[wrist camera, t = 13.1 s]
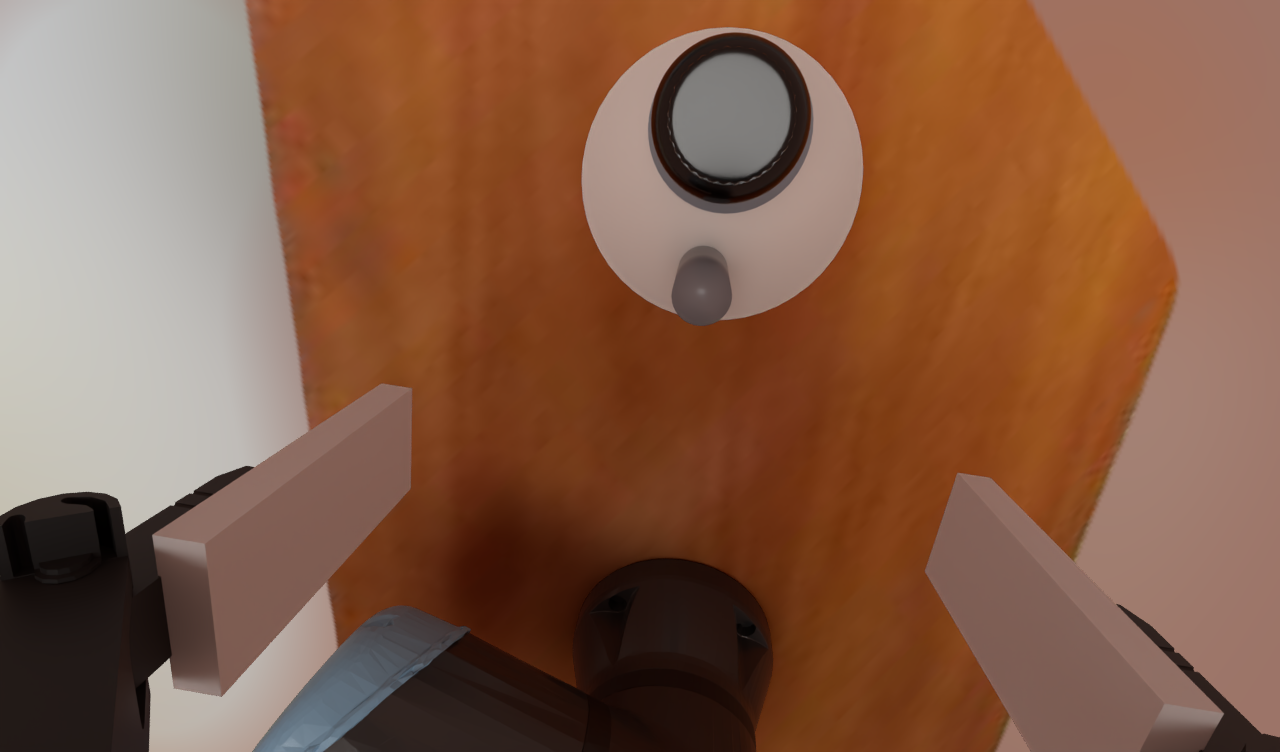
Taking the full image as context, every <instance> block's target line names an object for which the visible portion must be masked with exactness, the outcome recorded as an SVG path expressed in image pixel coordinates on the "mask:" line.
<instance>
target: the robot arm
mask: <svg viewBox="0 0 1280 752" xmlns="http://www.w3.org/2000/svg"><path fill="white" fill-rule="evenodd" d="M411 431H412V388H407V387H400V386H394V385H387V384H380V385H378V386H377V387H375V388H374V389H372V390H371V391H369V392H368V393H366V394H365V395H363V396H362V397H360V398H359V399H357V400H356V401H354V402H353V403H351V404H350V405H348V406H347V407H345V408H344V409H342V410H341V411H339V412H338V413H336V414H335V415H333V416H332V417H330V418H329V419H327V420H325V421H324V422H322V423H321V424H319V425H318V426H316V427H315V428H313V429H312V430H310V431H309V432H307V433H306V434H304V435H303V436H301V437H300V438H298V439H297V440H296V441H294V442H292V443H291V444H289V445H288V446H286V447H285V448H283V449H282V450H280V451H279V452H277V453H276V454H274V455H273V456H271V457H269V458H268V459H267V460H265V461H263V462H262V463H260V464H259V465H257V466H256V467H250V466H245V467H242V468H239V469H236V470H233V471H231V472H228V473H225V474H222V475H220V476H217V477H215V478H214V479H212V480H210V481H209V482H207V483H206V484H204V485H202V486H201V487H199V488H198V489H196V490H195V491H194V493H193V494H188V495H186V496H185V497H184V498H182V499H180V500H178V501H177V502H176V503H175V505H174V506H169V507H167V508H166V509H164V510H162V511H161V512H159V513H158V514H156V515H155V516H153V517H151V518H150V519H148V520H147V521H145V522H143V523H142V524H140V525H139V526H137V527H135V528H134V529H132V530H131V531H129V532H127V533H126V534H125V530H124V524H123V517H122V511H121V506H120V504H119V501H118V499H116V498H114V497H112V496H110V495H107V494H103V493H93V492H79V493H66V494H60V495H55V496H51V497H46V498H41V499H37V500H35V501H32V502H29V503H26V504H23V505H20V506H18V507H15V508H13V509H12V510H10V511H8V512H6V513H5V514H3V515H1V516H0V752H149V727H150V689H149V683H148V677H149V676H150V675H151V674H153V673H154V672H155V671H156V670H157V669H158V668H159V667H160V666H161V665H162V664H163V663H164V662H166V661H167V660H168V659H169V658H170V664H171V671H172V678H173V685H174V688H175V689H181V690H187V691H192V692H198V693H203V694H209V695H215V696H221V697H222V696H223V695H224V694H225V693H226V691H227V690H228V689H229V688H230V687H231V686H232V685H233V684H234V683H235V682H236V680H237V679H238V678H239V677H240V676H241V675H242V674H243V673H244V672H245V671H246V669H247V668H248V667H249V666H250V665H251V664H252V663H253V662H254V661H255V660H256V658H257V657H258V656H259V655H260V654H261V653H262V652H263V651H264V650H265V649H266V647H267V646H268V645H269V644H270V642H272V641H273V640H274V638H276V636H277V635H278V634H279V633H280V632H281V631H282V630H283V629H284V628H285V626H286V625H287V624H288V623H289V622H290V621H291V620H292V619H293V618H294V617H295V615H296V614H297V613H298V612H299V611H300V610H301V609H302V608H303V606H305V604H306V603H307V602H308V601H309V600H310V599H311V598H312V597H313V596H314V595H315V593H316V592H317V591H318V590H319V589H320V588H321V587H322V586H323V585H324V584H325V582H326V581H327V580H328V579H329V578H330V577H331V576H332V575H333V574H334V573H335V571H336V570H337V569H338V568H339V567H340V566H341V565H342V564H343V563H344V562H345V560H346V559H347V558H348V557H349V556H350V555H351V554H352V553H353V552H354V551H355V549H356V548H357V547H358V546H359V545H360V544H361V543H362V542H363V541H364V539H365V538H366V537H367V536H368V535H369V534H370V533H371V532H372V531H373V530H374V528H375V527H376V526H377V525H378V524H379V523H380V522H381V521H382V520H383V519H384V517H385V516H386V515H387V514H388V513H389V512H390V511H391V510H392V509H393V508H394V506H395V505H396V504H397V503H398V502H399V501H400V500H401V499H402V498H403V497H404V495H405V494H406V493H407V492H408V491H409V490H410V489H411ZM925 572H926V574H927V576H928V578H929V579H930V581H931V583H932V584H933V586H934V588H935V589H936V591H937V593H938V595H939V596H940V598H941V600H942V601H943V603H944V605H945V606H946V608H947V610H948V612H949V613H950V615H951V617H952V618H953V620H954V622H955V623H956V625H957V627H958V629H959V630H960V632H961V634H962V635H963V637H964V639H965V640H966V642H967V644H968V646H969V647H970V649H971V651H972V652H973V654H974V656H975V657H976V659H977V661H978V663H979V664H980V666H981V668H982V669H983V671H984V673H985V674H986V676H987V678H988V679H989V681H990V683H991V685H992V686H993V688H994V690H995V691H996V693H997V695H998V696H999V698H1000V700H1001V702H1002V703H1003V705H1004V707H1005V708H1006V710H1007V712H1008V713H1009V715H1010V717H1011V719H1012V720H1013V722H1014V724H1015V725H1016V727H1017V729H1018V730H1019V732H1020V734H1021V736H1022V737H1023V739H1024V741H1025V742H1026V744H1027V746H1028V747H1029V749H1030V751H1031V752H1280V737H1275V736H1271V735H1267V734H1261V733H1260V732H1259V731H1258V730H1257V729H1256V728H1255V727H1254V726H1253V725H1252V724H1251V723H1250V722H1249V721H1248V720H1247V719H1246V718H1245V717H1244V716H1243V715H1242V714H1241V713H1240V712H1239V711H1238V710H1237V709H1235V708H1234V706H1232V705H1231V704H1230V703H1229V702H1228V701H1227V700H1226V699H1225V698H1224V697H1223V696H1222V695H1221V694H1220V693H1219V692H1218V691H1217V690H1216V689H1215V688H1214V687H1213V686H1212V685H1211V684H1210V683H1209V682H1208V681H1207V680H1206V679H1205V678H1204V677H1203V676H1202V675H1201V674H1200V673H1198V672H1194V670H1193V668H1194V667H1193V666H1191V665H1190V663H1188V661H1186V660H1185V659H1184V658H1183V657H1182V656H1181V655H1180V654H1179V653H1175V652H1174V648H1173V647H1172V646H1171V645H1170V644H1169V643H1168V642H1167V641H1166V640H1165V639H1164V638H1163V637H1162V636H1161V635H1160V634H1159V633H1158V632H1157V631H1156V630H1155V629H1154V628H1153V627H1152V626H1150V625H1149V624H1148V623H1146V622H1145V621H1143V620H1142V619H1140V618H1139V617H1137V616H1136V615H1134V614H1133V613H1131V612H1130V611H1128V610H1127V609H1125V608H1124V607H1123V606H1121V605H1118V604H1115V603H1114V602H1113V601H1112V600H1111V599H1110V598H1109V597H1108V596H1107V595H1106V594H1105V593H1104V592H1103V591H1102V590H1101V589H1100V588H1099V587H1098V586H1097V585H1096V584H1095V583H1094V582H1093V581H1092V580H1091V579H1090V578H1089V577H1088V576H1087V575H1086V574H1085V573H1084V572H1083V571H1082V570H1081V569H1080V568H1079V567H1078V566H1077V565H1076V564H1075V563H1074V562H1073V561H1072V560H1071V559H1070V558H1069V557H1068V556H1067V555H1066V553H1065V552H1064V551H1063V550H1062V549H1061V548H1060V547H1059V546H1058V545H1057V544H1056V543H1055V542H1054V541H1053V540H1052V539H1051V538H1050V537H1049V536H1048V535H1047V534H1046V533H1045V532H1044V531H1043V530H1042V529H1041V528H1040V527H1039V526H1038V525H1037V524H1036V523H1035V522H1034V521H1033V520H1032V519H1031V518H1030V517H1029V516H1028V515H1027V514H1026V513H1025V512H1024V511H1023V510H1022V509H1021V508H1020V507H1019V506H1018V505H1017V504H1016V503H1015V502H1014V501H1013V500H1012V499H1011V498H1010V497H1009V496H1008V495H1007V494H1006V493H1005V492H1004V491H1003V490H1002V489H1001V488H1000V487H999V486H998V485H997V484H996V483H995V482H994V481H993V480H992V479H991V478H988V477H982V476H975V475H969V474H962V473H957V476H956V479H955V482H954V485H953V488H952V491H951V494H950V497H949V500H948V503H947V506H946V509H945V512H944V515H943V518H942V521H941V524H940V527H939V530H938V533H937V536H936V539H935V542H934V545H933V548H932V551H931V554H930V557H929V560H928V563H927V566H926V570H925ZM470 631H471V629H470V628H468V627H466V626H461V627H457V626H455V625H453V624H450V623H448V622H446V621H444V620H441V619H439V618H437V617H435V616H432V615H430V614H428V613H426V612H423V611H421V610H419V609H416V608H413V607H410V606H394V607H390V608H387V609H384V610H382V611H380V612H378V613H377V614H375V615H374V616H372V617H371V618H370V619H368V620H367V621H366V622H365V623H363V624H362V625H361V626H360V627H359V628H358V629H357V630H356V631H355V632H354V633H353V634H352V635H351V636H350V637H349V638H348V639H347V640H346V641H345V642H344V643H343V644H342V645H341V646H340V647H339V648H338V649H337V650H336V651H335V653H334V654H333V655H332V656H331V657H330V658H329V659H328V660H327V661H326V662H325V664H324V665H323V666H322V667H321V668H320V669H319V670H318V672H317V673H316V674H315V675H314V676H313V677H312V678H311V679H310V681H309V682H308V683H307V684H306V685H305V686H304V688H303V689H302V690H301V691H300V692H299V693H298V695H297V696H296V697H295V698H294V699H293V701H292V702H291V703H290V704H289V705H288V707H287V708H286V709H285V710H284V712H283V713H282V714H281V715H280V716H279V718H278V719H277V720H276V721H275V723H274V724H273V725H272V726H271V728H270V729H269V730H268V732H267V733H266V734H265V736H264V737H263V738H262V739H261V740H260V742H259V743H258V745H257V746H256V747H255V749H254V750H253V751H252V752H756V742H755V731H756V728H757V724H758V721H759V717H760V714H761V711H762V707H763V704H764V700H765V697H766V694H767V690H768V687H769V683H770V680H771V676H772V667H773V653H772V645H771V637H770V630H769V626H768V623H767V620H766V617H765V615H764V613H763V611H762V609H761V607H760V606H759V604H758V603H757V601H756V600H755V599H754V597H753V596H752V595H751V594H750V593H749V592H748V591H747V590H746V589H745V588H744V587H743V586H742V585H740V584H739V583H738V582H736V581H735V580H734V579H732V578H731V577H729V576H727V575H726V574H724V573H722V572H720V571H718V570H716V569H713V568H711V567H708V566H705V565H702V564H699V563H695V562H690V561H684V560H675V559H658V560H649V561H643V562H639V563H635V564H632V565H629V566H626V567H624V568H621V569H619V570H617V571H615V572H614V573H612V574H610V575H609V576H607V577H606V578H605V579H603V580H602V581H601V582H600V583H599V584H597V585H596V586H595V588H594V589H593V590H592V591H591V592H590V594H589V595H588V597H587V598H586V600H585V602H584V604H583V606H582V608H581V611H580V614H579V618H578V622H577V625H576V629H575V633H574V638H573V662H574V670H575V677H576V684H577V688H575V687H573V686H571V685H569V684H567V683H565V682H563V681H561V680H559V679H557V678H555V677H553V676H551V675H549V674H547V673H545V672H543V671H541V670H539V669H537V668H535V667H533V666H531V665H529V664H527V663H525V662H523V661H521V660H519V659H517V658H516V657H514V656H512V655H510V654H508V653H506V652H504V651H502V650H500V649H498V648H497V647H495V646H493V645H491V644H489V643H487V642H485V641H483V640H481V639H479V638H478V637H476V636H474V635H472V634H470Z"/></svg>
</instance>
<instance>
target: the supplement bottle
mask: <svg viewBox="0 0 1280 752" xmlns="http://www.w3.org/2000/svg"><path fill="white" fill-rule="evenodd" d="M810 125H811V101H810V96H809V91H808V88H807V85H806V82H805V79H804V77H803V75H802V73H801V71H800V69H799V68H798V66H797V65H796V63H795V62H794V61H793V60H792V58H791V57H790V56H789V55H788V54H787V53H786V52H785V51H784V50H783V49H781V48H780V47H779V46H777V45H776V44H774V43H773V42H771V41H769V40H767V39H765V38H763V37H760V36H757V35H753V34H749V33H741V32H731V33H722V34H718V35H714V36H711V37H708V38H705V39H703V40H701V41H699V42H697V43H696V44H694V45H692V46H691V47H689V48H688V49H687V50H685V51H684V52H683V53H682V54H681V55H680V56H679V57H678V58H677V59H676V60H675V61H674V62H673V63H672V64H671V66H670V67H669V68H668V70H667V71H666V73H665V74H664V76H663V78H662V80H661V82H660V84H659V86H658V88H657V91H656V94H655V97H654V101H653V105H652V112H651V134H652V141H653V145H654V149H655V152H656V155H657V157H658V159H659V161H660V164H661V165H662V167H663V169H664V170H665V172H666V173H667V175H668V176H669V177H670V178H671V179H672V181H673V182H674V183H675V184H676V185H678V186H679V187H680V188H681V189H682V190H684V191H685V192H687V193H688V194H690V195H692V196H694V197H696V198H698V199H700V200H703V201H706V202H710V203H716V204H737V203H743V202H747V201H750V200H753V199H756V198H758V197H760V196H762V195H764V194H766V193H768V192H769V191H771V190H772V189H774V188H775V187H776V186H778V185H779V184H780V183H781V182H782V181H783V180H784V179H785V178H786V177H787V176H788V175H789V174H790V172H791V171H792V170H793V169H794V167H795V166H796V164H797V162H798V161H799V159H800V157H801V155H802V153H803V151H804V148H805V146H806V143H807V140H808V136H809V132H810Z"/></svg>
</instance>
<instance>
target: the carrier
mask: <svg viewBox="0 0 1280 752" xmlns="http://www.w3.org/2000/svg"><path fill="white" fill-rule="evenodd" d="M731 32H741V33H749V34H753V35H757V36H760V37H763V38H765V39H767V40H769V41H771V42H773V43H774V44H776V45H777V46H779V47H780V48H781V49H783V50H784V51H785V52H786V53H787V54H788V55H789V56H790V57H791V58H792V60H793V61H794V62H795V63H796V65H797V66H798V68H799V69H800V71H801V73H802V75H803V77H804V79H805V82H806V85H807V88H808V91H809V96H810V101H811V125H810V132H809V136H808V140H807V143H806V146H805V148H804V151H803V153H802V155H801V157H800V159H799V161H798V162H797V164H796V166H795V167H794V169H793V170H792V171H791V172H790V174H789V175H788V176H787V177H786V178H785V179H784V180H783V181H782V182H781V183H780V184H779V185H778V186H776V187H775V188H774V189H772V190H771V191H769V192H768V193H766V194H764V195H762V196H760V197H758V198H756V199H753V200H750V201H747V202H743V203H737V204H716V203H710V202H706V201H703V200H700V199H698V198H696V197H694V196H692V195H690V194H688V193H687V192H685V191H684V190H682V189H681V188H680V187H679V186H678V185H676V184H675V183H674V182H673V181H672V179H671V178H670V177H669V176H668V175H667V173H666V172H665V170H664V169H663V167H662V165H661V164H660V161H659V159H658V157H657V155H656V152H655V149H654V145H653V141H652V134H651V112H652V105H653V101H654V97H655V94H656V91H657V88H658V86H659V84H660V82H661V80H662V78H663V76H664V74H665V73H666V71H667V70H668V68H669V67H670V66H671V64H672V63H673V62H674V61H675V60H676V59H677V58H678V57H679V56H680V55H681V54H682V53H683V52H684V51H685V50H687V49H688V48H689V47H691V46H692V45H694V44H696V43H697V42H699V41H701V40H703V39H705V38H708V37H711V36H714V35H718V34H722V33H731ZM862 178H863V158H862V147H861V141H860V136H859V131H858V128H857V125H856V122H855V119H854V116H853V113H852V110H851V108H850V106H849V104H848V102H847V100H846V98H845V96H844V94H843V93H842V91H841V90H840V88H839V87H838V85H837V84H836V82H835V81H834V80H833V78H832V77H831V76H830V75H829V74H828V72H827V71H826V70H825V69H824V68H823V67H822V66H821V65H820V64H819V63H818V62H817V61H816V60H814V59H813V58H812V57H811V56H809V55H808V54H807V53H806V52H804V51H803V50H801V49H800V48H798V47H796V46H795V45H793V44H791V43H789V42H788V41H786V40H783V39H781V38H778V37H776V36H773V35H771V34H768V33H764V32H760V31H755V30H751V29H744V28H731V27H726V28H712V29H705V30H701V31H696V32H691V33H688V34H685V35H682V36H680V37H677V38H674V39H672V40H669V41H668V42H666V43H664V44H662V45H660V46H658V47H657V48H655V49H653V50H651V51H650V52H649V53H647V54H646V55H645V56H643V57H642V58H641V59H639V60H638V61H636V62H635V63H634V64H633V65H632V66H631V67H630V68H629V69H628V70H627V71H626V72H625V73H624V74H623V75H622V76H621V77H620V79H619V80H618V81H617V82H616V84H615V85H614V86H613V87H612V89H611V90H610V91H609V93H608V94H607V96H606V98H605V99H604V101H603V103H602V104H601V106H600V108H599V110H598V112H597V114H596V117H595V119H594V121H593V123H592V126H591V129H590V132H589V135H588V139H587V142H586V146H585V152H584V157H583V164H582V193H583V203H584V208H585V213H586V218H587V221H588V224H589V227H590V230H591V233H592V236H593V238H594V240H595V242H596V244H597V246H598V248H599V250H600V252H601V254H602V255H603V257H604V258H605V260H606V261H607V263H608V265H609V266H610V267H611V268H612V270H613V271H614V272H615V273H616V274H617V276H618V277H619V278H620V279H621V280H622V281H623V282H624V283H625V284H626V285H627V286H628V287H630V288H631V289H632V290H633V291H634V292H636V293H637V294H638V295H640V296H641V297H643V298H644V299H645V300H647V301H649V302H651V303H652V304H654V305H656V306H658V307H660V308H662V309H664V310H667V311H670V312H672V313H675V314H678V315H679V316H680V317H681V318H682V319H683V320H684V321H686V322H688V323H690V324H693V325H698V326H705V325H710V324H713V323H715V322H717V321H719V320H730V319H737V318H744V317H748V316H752V315H755V314H759V313H762V312H765V311H767V310H769V309H772V308H774V307H777V306H779V305H780V304H782V303H784V302H786V301H788V300H789V299H791V298H793V297H794V296H796V295H797V294H798V293H800V292H801V291H802V290H804V289H805V288H806V287H808V286H809V285H810V284H811V283H812V282H813V281H814V280H815V279H816V278H817V277H818V276H819V275H821V274H822V272H823V271H824V270H825V269H826V267H827V266H828V265H829V264H830V263H831V261H832V260H833V259H834V257H835V256H836V254H837V253H838V251H839V250H840V248H841V246H842V245H843V243H844V241H845V239H846V237H847V235H848V233H849V231H850V229H851V227H852V224H853V221H854V218H855V215H856V212H857V209H858V205H859V200H860V195H861V190H862Z"/></svg>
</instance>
